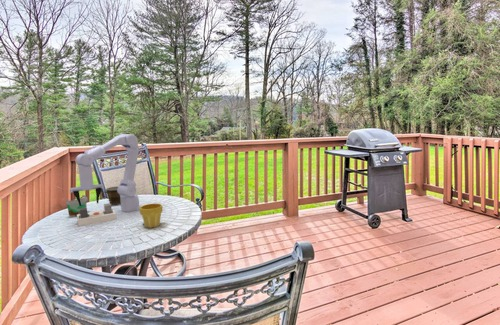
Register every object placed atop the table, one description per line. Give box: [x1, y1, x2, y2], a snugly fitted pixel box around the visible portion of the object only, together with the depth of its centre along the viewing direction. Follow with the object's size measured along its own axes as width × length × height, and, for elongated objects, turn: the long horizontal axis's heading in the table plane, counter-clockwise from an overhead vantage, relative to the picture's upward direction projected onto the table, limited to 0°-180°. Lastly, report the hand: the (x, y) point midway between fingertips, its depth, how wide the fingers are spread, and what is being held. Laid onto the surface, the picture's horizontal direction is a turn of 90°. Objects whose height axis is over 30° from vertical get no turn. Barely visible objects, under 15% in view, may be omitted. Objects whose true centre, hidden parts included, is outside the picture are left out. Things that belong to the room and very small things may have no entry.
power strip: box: [76, 208, 117, 227], centre depth 148 cm, size 17×10×5 cm, turn 122°
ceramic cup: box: [101, 186, 121, 206], centre depth 178 cm, size 13×10×10 cm
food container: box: [65, 194, 89, 218], centre depth 158 cm, size 12×6×10 cm, turn 168°
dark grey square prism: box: [80, 207, 88, 218], centre depth 145 cm, size 3×4×7 cm
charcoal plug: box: [103, 202, 113, 214], centre depth 151 cm, size 3×4×7 cm
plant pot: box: [139, 202, 163, 228], centre depth 141 cm, size 10×10×10 cm
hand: (89, 204), depth 146 cm, fingers open, 7 cm apart
